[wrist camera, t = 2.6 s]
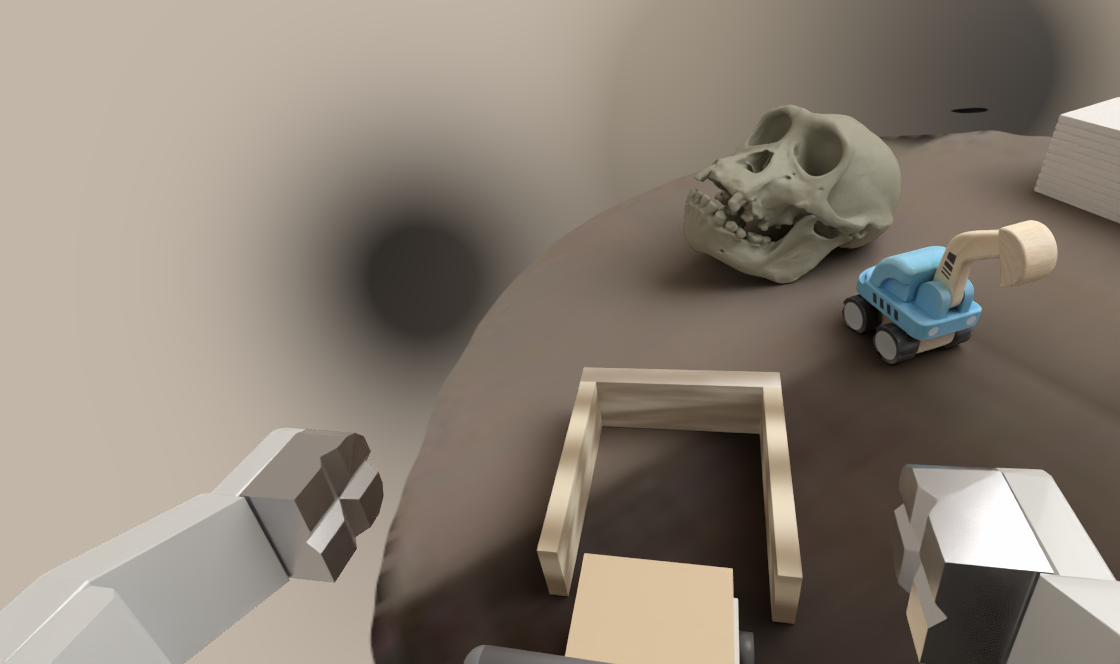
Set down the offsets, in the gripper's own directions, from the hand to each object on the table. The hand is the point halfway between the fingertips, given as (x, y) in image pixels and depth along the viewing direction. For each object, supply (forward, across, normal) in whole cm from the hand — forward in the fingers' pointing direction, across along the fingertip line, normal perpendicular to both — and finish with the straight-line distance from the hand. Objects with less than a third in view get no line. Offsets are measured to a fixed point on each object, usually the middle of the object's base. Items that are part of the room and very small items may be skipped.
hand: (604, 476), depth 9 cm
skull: (+74, +8, -28) cm, 79 cm away
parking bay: (+32, -3, -33) cm, 46 cm away
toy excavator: (+53, +20, -31) cm, 65 cm away
